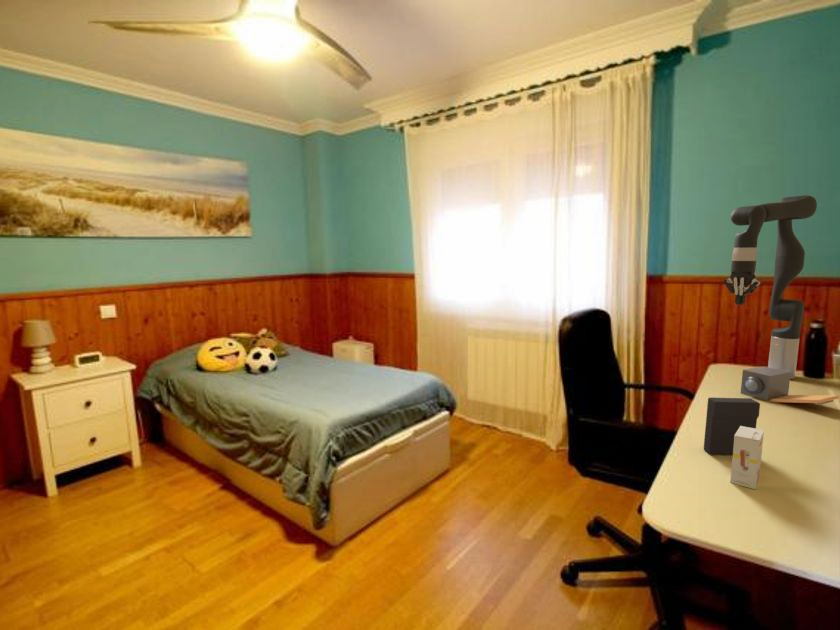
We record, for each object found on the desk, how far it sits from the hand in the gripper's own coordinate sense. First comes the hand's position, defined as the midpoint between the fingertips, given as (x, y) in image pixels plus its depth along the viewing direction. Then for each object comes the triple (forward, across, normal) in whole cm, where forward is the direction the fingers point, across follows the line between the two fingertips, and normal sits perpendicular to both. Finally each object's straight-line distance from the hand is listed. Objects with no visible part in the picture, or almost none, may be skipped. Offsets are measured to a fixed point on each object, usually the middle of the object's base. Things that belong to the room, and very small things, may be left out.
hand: (739, 304), depth 168 cm
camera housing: (+33, -13, +3) cm, 35 cm away
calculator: (+33, -37, +60) cm, 77 cm away
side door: (+32, -18, +2) cm, 37 cm away
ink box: (+33, -47, +70) cm, 91 cm away
